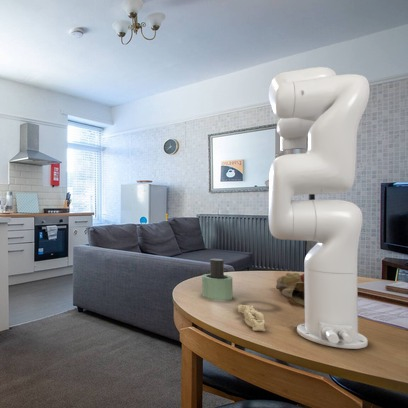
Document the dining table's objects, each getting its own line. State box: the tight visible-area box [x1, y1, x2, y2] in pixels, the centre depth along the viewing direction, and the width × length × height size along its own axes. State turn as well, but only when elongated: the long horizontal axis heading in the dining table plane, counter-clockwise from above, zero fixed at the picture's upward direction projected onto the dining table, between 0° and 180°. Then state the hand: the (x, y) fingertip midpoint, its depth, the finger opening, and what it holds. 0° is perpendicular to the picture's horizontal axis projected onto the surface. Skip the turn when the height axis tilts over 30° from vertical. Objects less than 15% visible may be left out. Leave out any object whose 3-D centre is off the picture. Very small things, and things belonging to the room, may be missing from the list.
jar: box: [201, 273, 234, 301], centre depth 108 cm, size 9×9×7 cm
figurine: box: [275, 272, 305, 308], centre depth 103 cm, size 15×9×20 cm
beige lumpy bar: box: [237, 304, 266, 332], centre depth 87 cm, size 17×4×3 cm, turn 169°
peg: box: [209, 258, 225, 279], centre depth 108 cm, size 4×4×12 cm
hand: (293, 204), depth 115 cm, fingers open, 9 cm apart
